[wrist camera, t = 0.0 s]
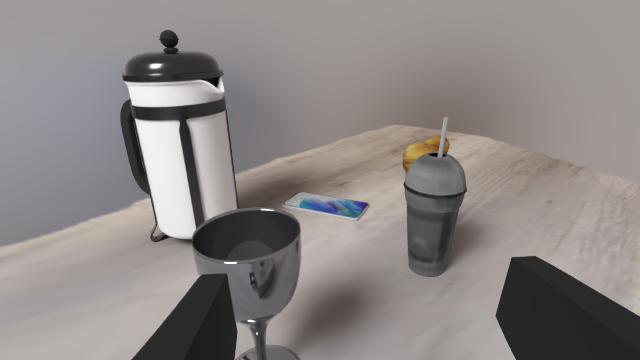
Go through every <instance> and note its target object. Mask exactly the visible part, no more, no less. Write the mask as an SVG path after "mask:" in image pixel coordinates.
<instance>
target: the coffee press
mask: <svg viewBox="0 0 640 360" xmlns="http://www.w3.org/2000/svg"><path fill="white" fill-rule="evenodd" d="M159 40H160V41H161V43H162V44H163V45H164V46H165V47H167V48H165V49H164V52H150V53H143V54H139V55H136V56H134V57H133V58H131V59H130V60H129V61H128V62H127V64H126V68H125V74H122V77H123V80H124V81H125V83H126V84H127V86H128V89H129V93H130V98H131V99H129V100H127V101H126V102H125V103H124V104H123V106H122V109H121V115H120V116H121V127H122V132H123V137H124V141H125V146H126V150H127V154H128V158H129V162H130V166H131V170H132V173H133V176H134V178H135V180H136V182H137V184H138V185H139V186H140V188H141V189H142V190H143V191H144V192H146V193H147V194H149V195H150V198H151V202H152V207H153V211H154V216H155V221H156V224H155V226H154V228H153V230H152V231H151V237H150V238H151V240H152V241H154V242H157V241H160V240H161V239H162V237H163V236H164V235H165V234H166V235H168V236H170V237H173V238H178V239H192V236H193V233H194V232H195V230H196V229H197V228H198V227H199V226H200V225H201V224H202V223H204V222H205V221H207V220H208V219H210V218H212V217H214V216H217V215H219V214H222V213H225V212H228V211H232V210H236V209H237V207H238V209H239V205H238V198H237V190H236V182H235V174H234V166H233V158H232V150H231V142H230V133H229V126H228V118H227V111H226V102H225V96H223V94H224V87H223V83H222V77H223V70H222V69H220V68H219V65H218V63H217V61H216V60H215V59H214V58H213V57H212V56H210V55H208V54H206V53H202V52H195V51H178V49H177V48H173V47H175V46H176V45H177V43H178V37H177V35H176V34H175V33H174V32H172V31H170V30H165V31H163V32H162V33H161V35H160V39H159ZM134 125H135V127H134ZM135 130H136V132H135ZM136 134H137V136H136ZM137 139H138V141H137ZM138 143H139V146H138ZM139 148H140V150H139ZM140 153H141V155H140ZM141 157H142V159H141ZM142 162H143V164H142ZM143 166H144V168H143ZM236 203H237V205H236ZM157 220H158V224H159V227H160V229H161V230H162V232H163V233H162V234H161V235H160V236H158V237H154V236H153V233H154V231H155V229H156V227H157Z"/></svg>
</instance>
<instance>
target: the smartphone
mask: <svg viewBox="0 0 640 360" xmlns="http://www.w3.org/2000/svg"><path fill="white" fill-rule="evenodd" d="M282 207H284V208H289V209H294V210H299V211H304V212H310V213H315V214H320V215H325V216H330V217H335V218H340V219H346V220H351V221H358V220H359V219H360V218H361V216H362V215H363V214H364V213H365V211H366V210H367V209H368V207H369V203H366V202H360V201H354V200H348V199H342V198H336V197H330V196H324V195H318V194H312V193H306V192H298V193H296V194H295V195H293V196H292V197H291V198H289V199H288V200H286V201H285V202H284V203H283V204H282Z"/></svg>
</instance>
